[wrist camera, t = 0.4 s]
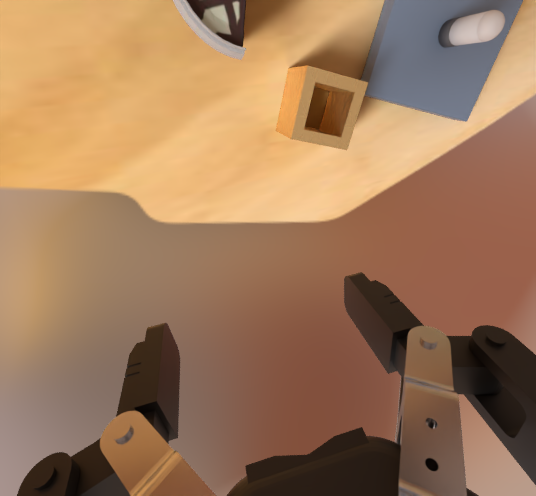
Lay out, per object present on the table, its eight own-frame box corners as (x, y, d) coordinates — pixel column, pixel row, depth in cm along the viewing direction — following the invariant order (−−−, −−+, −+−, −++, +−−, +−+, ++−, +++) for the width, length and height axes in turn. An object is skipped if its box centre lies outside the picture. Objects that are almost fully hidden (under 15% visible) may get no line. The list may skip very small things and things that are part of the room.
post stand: (409, -80, 28) (481, -134, 21) (519, -26, 33) (609, -55, 26) (356, 93, 35) (398, 96, 28) (454, 119, 39) (512, 127, 32)
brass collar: (288, 68, 32) (307, 65, 27) (341, 82, 34) (368, 82, 29) (275, 130, 35) (291, 138, 30) (324, 140, 37) (347, 150, 32)
